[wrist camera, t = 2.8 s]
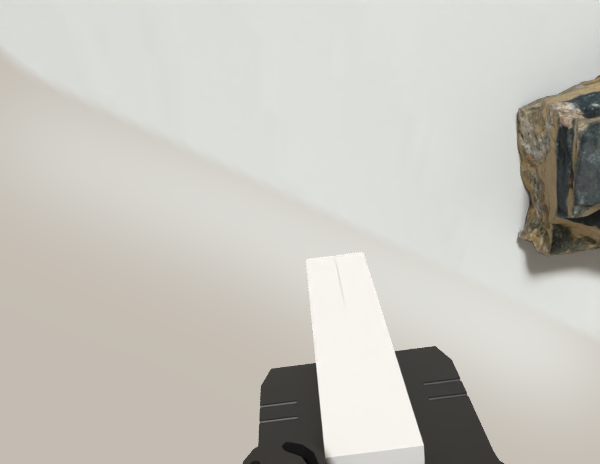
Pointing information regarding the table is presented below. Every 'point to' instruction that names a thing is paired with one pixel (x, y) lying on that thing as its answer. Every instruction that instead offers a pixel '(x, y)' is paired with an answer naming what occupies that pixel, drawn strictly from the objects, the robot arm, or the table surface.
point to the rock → (562, 169)
